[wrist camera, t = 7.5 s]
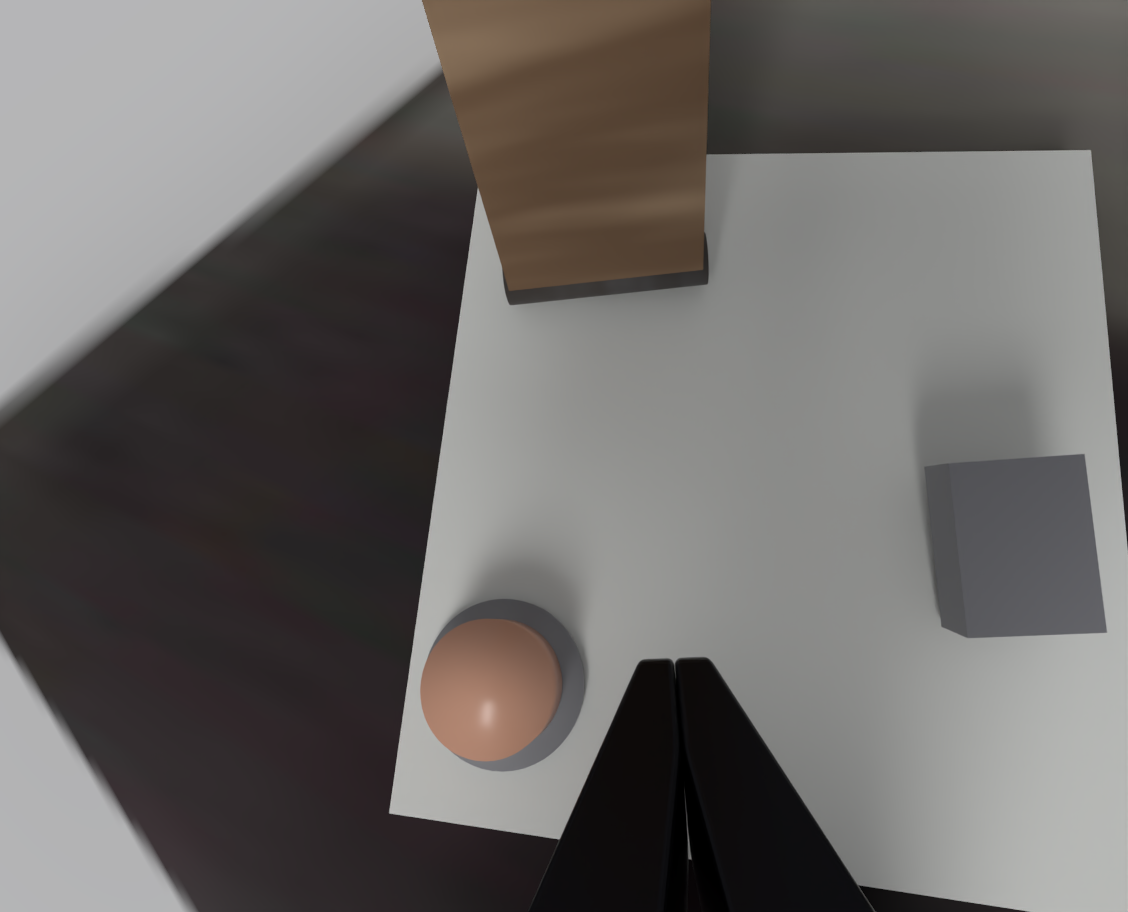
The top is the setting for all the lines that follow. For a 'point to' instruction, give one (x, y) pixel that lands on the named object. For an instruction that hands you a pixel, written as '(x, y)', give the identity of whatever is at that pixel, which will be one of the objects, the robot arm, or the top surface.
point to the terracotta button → (490, 688)
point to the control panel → (803, 514)
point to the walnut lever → (584, 138)
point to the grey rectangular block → (1015, 547)
